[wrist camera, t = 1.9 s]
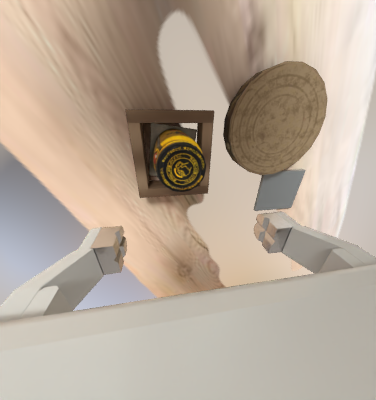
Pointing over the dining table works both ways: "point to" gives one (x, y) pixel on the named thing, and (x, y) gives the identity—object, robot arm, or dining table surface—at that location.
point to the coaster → (278, 189)
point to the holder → (139, 151)
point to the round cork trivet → (275, 117)
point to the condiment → (176, 157)
